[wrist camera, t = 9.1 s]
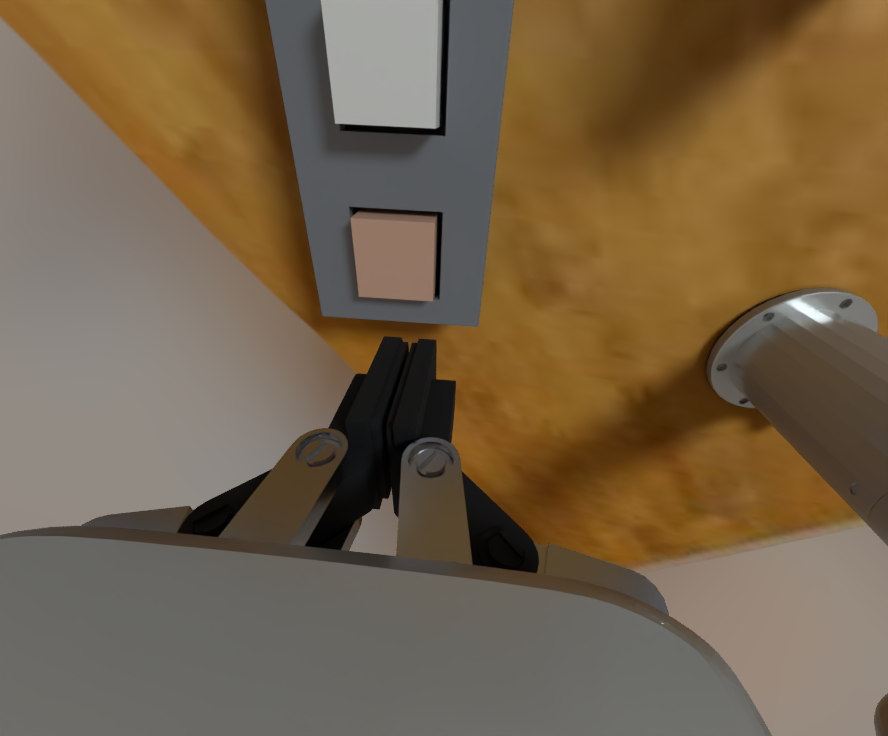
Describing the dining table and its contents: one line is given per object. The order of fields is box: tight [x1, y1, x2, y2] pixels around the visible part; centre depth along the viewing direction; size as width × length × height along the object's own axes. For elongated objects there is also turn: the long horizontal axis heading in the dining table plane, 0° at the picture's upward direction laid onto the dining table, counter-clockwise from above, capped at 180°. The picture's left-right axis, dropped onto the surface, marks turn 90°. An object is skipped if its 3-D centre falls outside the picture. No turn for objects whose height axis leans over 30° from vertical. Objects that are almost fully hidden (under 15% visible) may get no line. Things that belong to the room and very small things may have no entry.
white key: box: [321, 0, 446, 129], centre depth 19 cm, size 5×5×5 cm
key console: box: [265, 0, 514, 327], centre depth 21 cm, size 12×30×6 cm, turn 178°
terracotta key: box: [350, 207, 441, 301], centre depth 25 cm, size 5×5×5 cm
